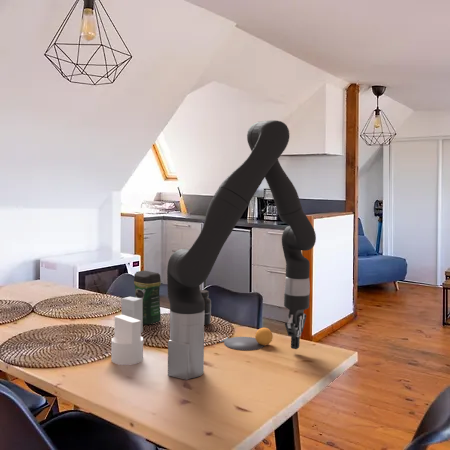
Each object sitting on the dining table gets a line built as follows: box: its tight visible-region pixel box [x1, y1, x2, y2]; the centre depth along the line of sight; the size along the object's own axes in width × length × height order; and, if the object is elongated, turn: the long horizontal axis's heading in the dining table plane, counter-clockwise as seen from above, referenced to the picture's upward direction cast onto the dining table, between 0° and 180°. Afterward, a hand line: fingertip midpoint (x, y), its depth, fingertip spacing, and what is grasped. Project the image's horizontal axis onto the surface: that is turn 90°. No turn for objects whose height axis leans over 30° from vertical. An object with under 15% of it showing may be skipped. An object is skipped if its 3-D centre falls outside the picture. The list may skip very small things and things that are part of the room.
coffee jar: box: [133, 270, 162, 325], centre depth 183 cm, size 10×8×19 cm
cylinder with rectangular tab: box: [110, 314, 144, 366], centre depth 145 cm, size 9×9×12 cm
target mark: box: [223, 336, 266, 351], centre depth 162 cm, size 13×13×1 cm
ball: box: [254, 327, 274, 346], centre depth 161 cm, size 6×6×6 cm
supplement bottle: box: [200, 289, 212, 326], centre depth 183 cm, size 7×7×12 cm
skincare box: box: [121, 296, 144, 332], centre depth 170 cm, size 6×4×12 cm
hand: (295, 348), depth 154 cm, fingers closed
